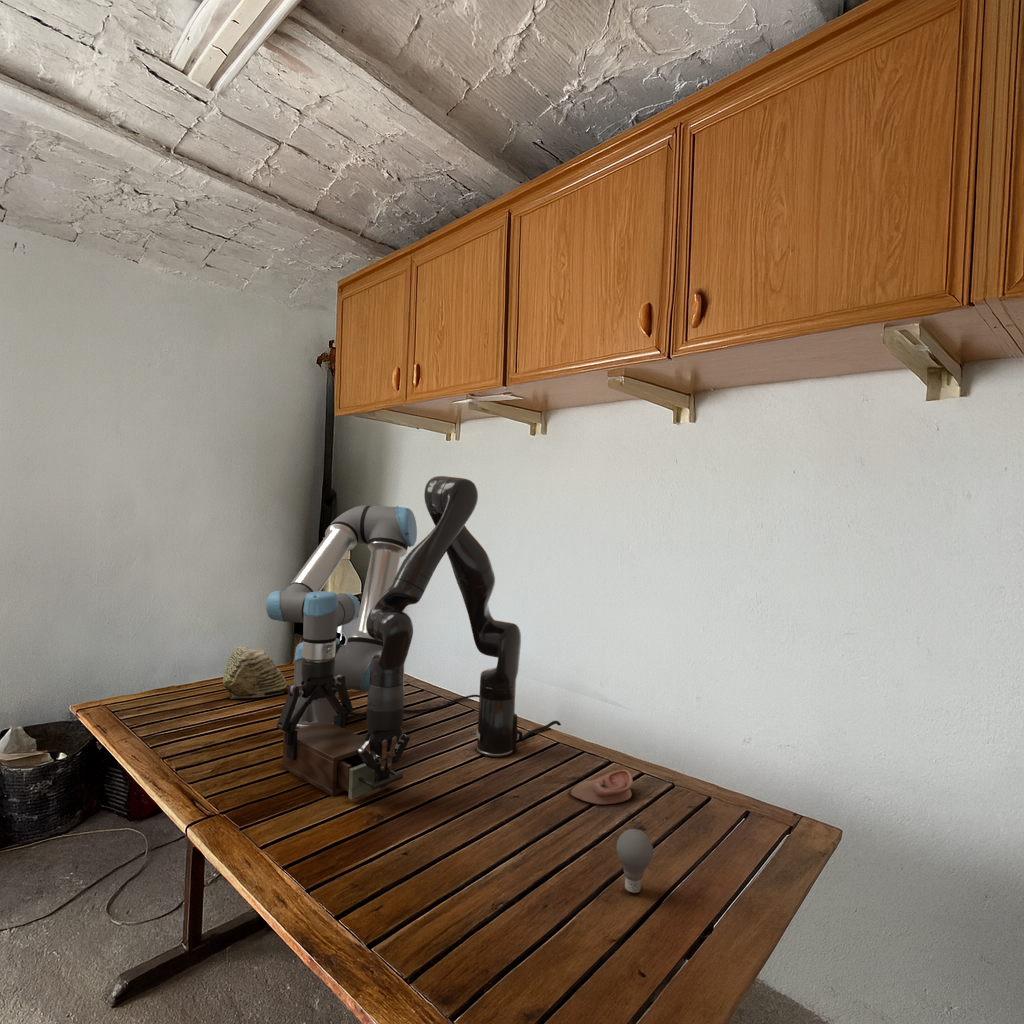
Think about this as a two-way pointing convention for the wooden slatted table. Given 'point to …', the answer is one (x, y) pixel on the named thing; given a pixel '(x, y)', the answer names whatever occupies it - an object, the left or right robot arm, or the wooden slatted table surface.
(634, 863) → the light bulb
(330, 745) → the cabinet
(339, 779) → the drawer
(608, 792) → the anatomical model
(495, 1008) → the wooden slatted table surface
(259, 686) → the fossil
